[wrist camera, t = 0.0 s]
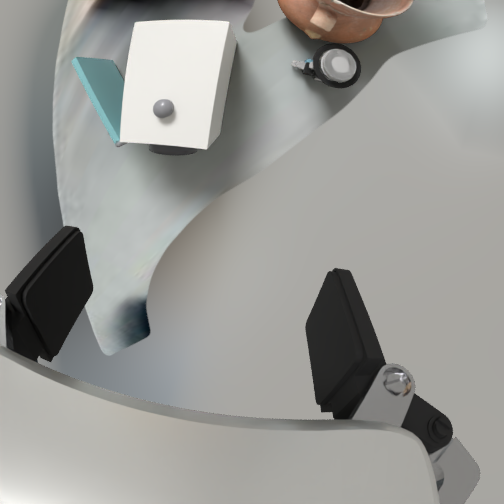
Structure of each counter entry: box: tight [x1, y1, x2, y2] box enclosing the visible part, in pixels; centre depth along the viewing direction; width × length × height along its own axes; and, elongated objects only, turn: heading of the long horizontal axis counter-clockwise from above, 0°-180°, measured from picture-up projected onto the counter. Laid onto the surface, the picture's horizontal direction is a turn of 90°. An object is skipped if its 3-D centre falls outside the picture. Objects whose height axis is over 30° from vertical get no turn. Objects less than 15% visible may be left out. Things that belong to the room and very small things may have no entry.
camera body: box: [120, 20, 237, 155], centre depth 27 cm, size 16×10×12 cm, turn 170°
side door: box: [72, 57, 128, 147], centre depth 27 cm, size 14×1×10 cm, turn 25°
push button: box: [291, 43, 361, 88], centre depth 26 cm, size 7×5×10 cm
